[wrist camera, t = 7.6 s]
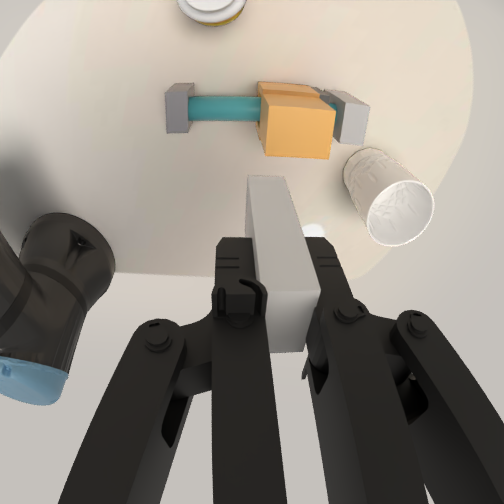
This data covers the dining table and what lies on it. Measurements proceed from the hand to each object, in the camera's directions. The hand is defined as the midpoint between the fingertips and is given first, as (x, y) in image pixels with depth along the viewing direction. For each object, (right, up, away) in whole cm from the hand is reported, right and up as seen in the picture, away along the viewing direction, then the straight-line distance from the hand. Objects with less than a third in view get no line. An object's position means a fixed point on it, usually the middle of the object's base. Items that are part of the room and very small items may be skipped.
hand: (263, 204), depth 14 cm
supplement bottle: (-4, +23, +11) cm, 25 cm away
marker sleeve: (+3, +13, +16) cm, 21 cm away
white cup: (+14, +8, +24) cm, 28 cm away
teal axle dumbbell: (0, +14, +18) cm, 22 cm away
